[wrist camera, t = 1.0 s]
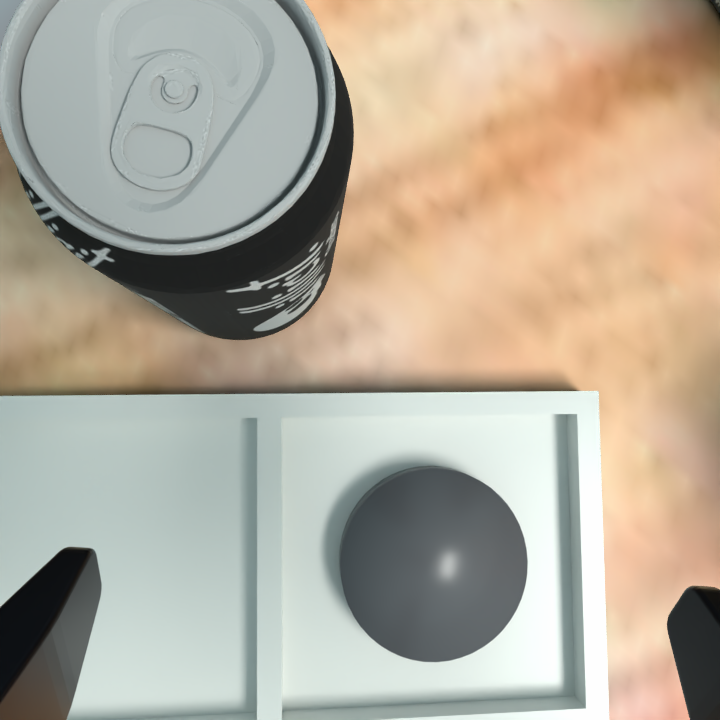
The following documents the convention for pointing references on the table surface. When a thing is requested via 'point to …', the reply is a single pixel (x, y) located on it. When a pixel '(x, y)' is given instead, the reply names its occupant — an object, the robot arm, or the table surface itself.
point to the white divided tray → (321, 551)
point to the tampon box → (716, 4)
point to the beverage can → (184, 149)
